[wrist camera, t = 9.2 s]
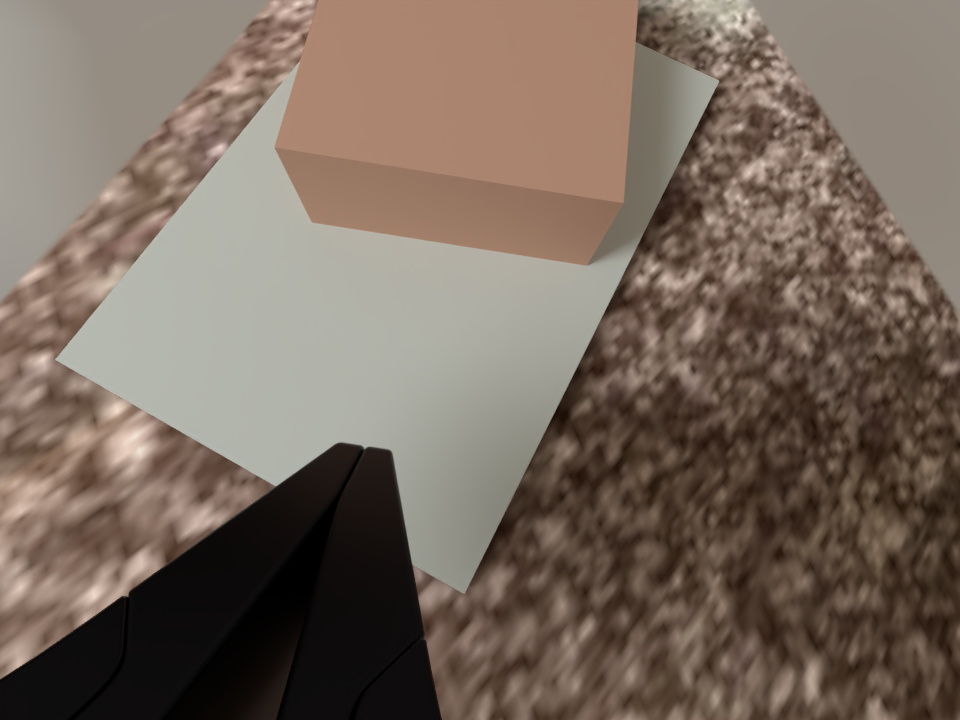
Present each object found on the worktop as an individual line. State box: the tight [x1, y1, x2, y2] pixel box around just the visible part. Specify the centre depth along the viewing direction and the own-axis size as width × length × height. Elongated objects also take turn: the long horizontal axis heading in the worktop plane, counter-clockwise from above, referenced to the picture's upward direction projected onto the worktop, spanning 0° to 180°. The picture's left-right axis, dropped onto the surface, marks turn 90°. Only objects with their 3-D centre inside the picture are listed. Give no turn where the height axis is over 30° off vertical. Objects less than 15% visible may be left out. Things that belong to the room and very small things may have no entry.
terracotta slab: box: [274, 0, 639, 266], centre depth 18 cm, size 4×10×11 cm
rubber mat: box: [55, 42, 719, 594], centre depth 19 cm, size 15×22×1 cm
